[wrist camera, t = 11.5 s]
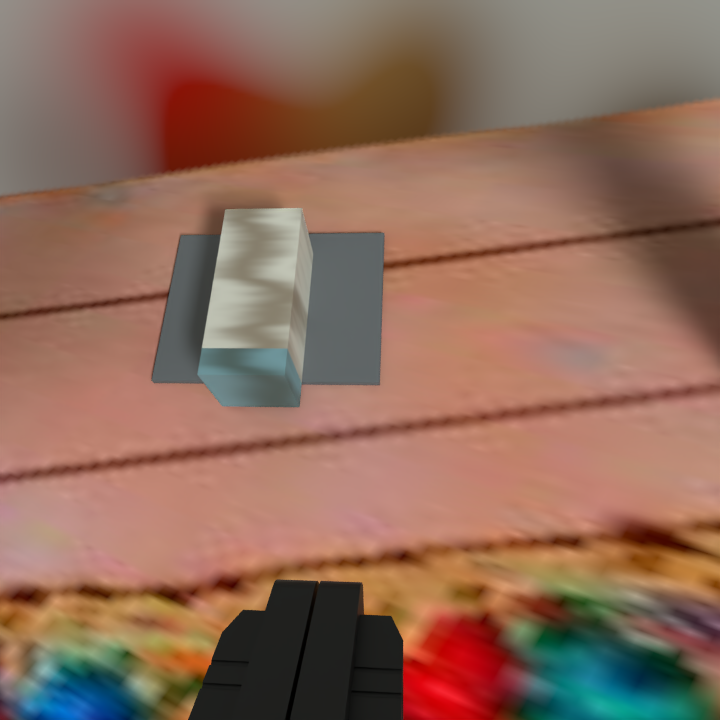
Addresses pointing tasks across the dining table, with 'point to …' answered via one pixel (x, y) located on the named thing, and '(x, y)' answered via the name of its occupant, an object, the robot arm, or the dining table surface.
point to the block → (258, 309)
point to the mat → (325, 312)
